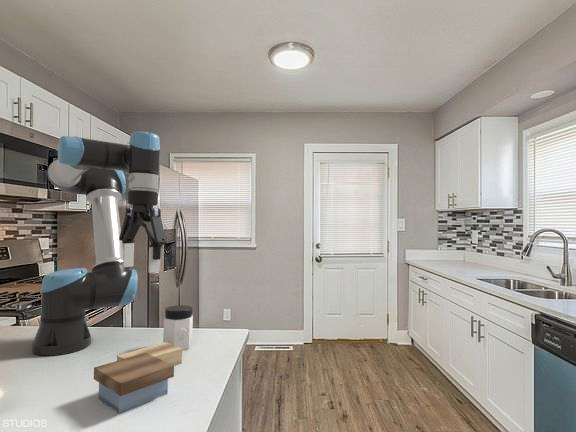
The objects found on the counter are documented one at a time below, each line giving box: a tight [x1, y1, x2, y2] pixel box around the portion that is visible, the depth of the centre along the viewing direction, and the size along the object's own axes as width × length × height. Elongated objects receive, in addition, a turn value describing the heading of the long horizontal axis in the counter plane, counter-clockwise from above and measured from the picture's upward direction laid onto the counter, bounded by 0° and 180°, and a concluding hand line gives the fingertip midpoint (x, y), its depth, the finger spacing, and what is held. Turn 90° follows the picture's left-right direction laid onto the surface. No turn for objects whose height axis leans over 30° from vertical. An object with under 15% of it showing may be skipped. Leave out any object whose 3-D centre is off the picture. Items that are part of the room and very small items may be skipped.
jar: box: [162, 304, 194, 351], centre depth 110 cm, size 9×8×12 cm
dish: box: [98, 379, 169, 414], centre depth 78 cm, size 9×11×4 cm
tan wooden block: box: [116, 342, 183, 367], centre depth 94 cm, size 8×14×4 cm, turn 142°
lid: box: [93, 353, 175, 396], centre depth 78 cm, size 12×12×2 cm
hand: (140, 269), depth 95 cm, fingers open, 13 cm apart
